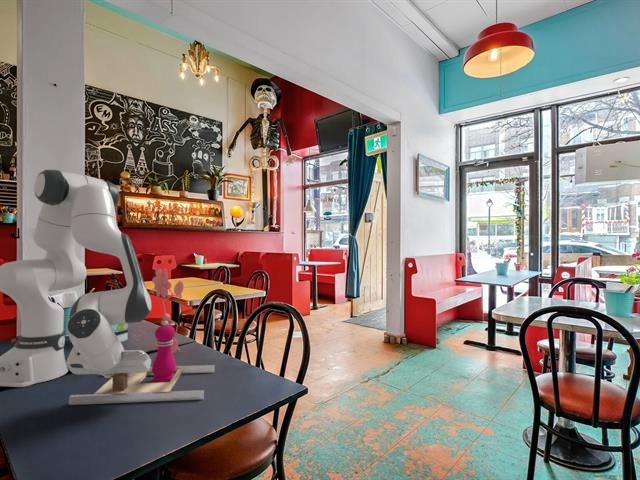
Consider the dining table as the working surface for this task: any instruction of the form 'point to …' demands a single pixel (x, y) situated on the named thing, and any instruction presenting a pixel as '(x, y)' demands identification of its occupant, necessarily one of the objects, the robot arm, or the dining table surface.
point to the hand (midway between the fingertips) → (119, 374)
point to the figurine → (161, 288)
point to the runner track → (146, 395)
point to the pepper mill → (164, 354)
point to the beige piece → (136, 383)
